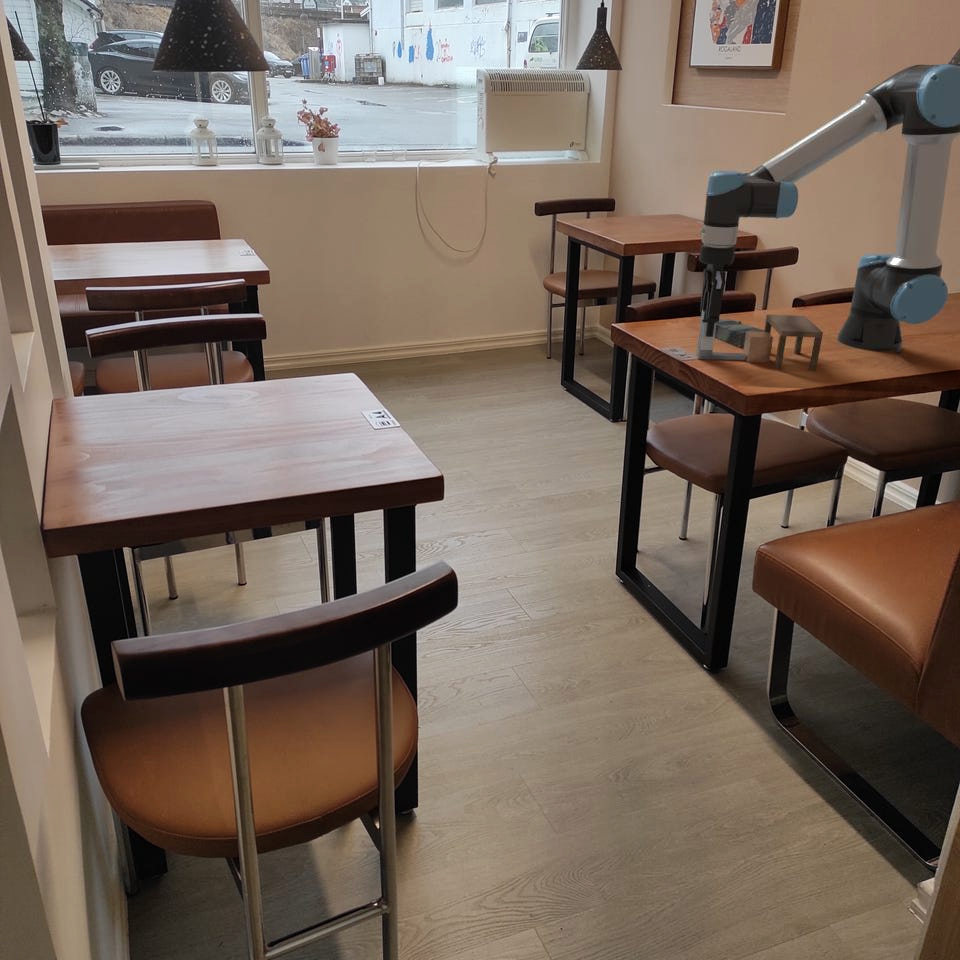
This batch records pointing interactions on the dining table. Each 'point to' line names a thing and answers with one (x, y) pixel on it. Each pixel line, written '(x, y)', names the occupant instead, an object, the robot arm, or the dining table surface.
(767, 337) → the grey l-shaped piece
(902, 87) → the robot arm
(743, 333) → the stone block
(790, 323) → the small grey table
